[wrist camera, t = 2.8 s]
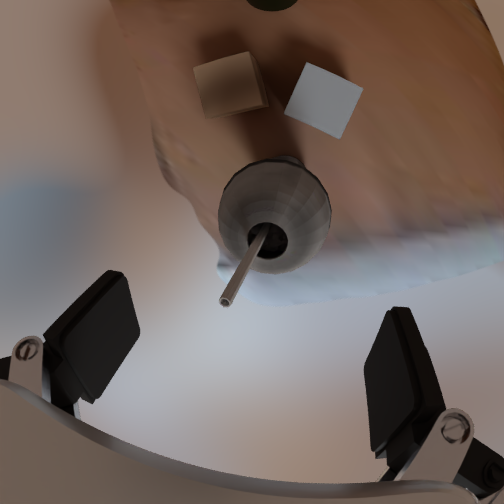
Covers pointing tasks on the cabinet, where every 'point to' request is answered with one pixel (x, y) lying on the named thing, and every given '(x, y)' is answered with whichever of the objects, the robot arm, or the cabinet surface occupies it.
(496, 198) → the cabinet surface
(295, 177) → the beverage cup
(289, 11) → the cabinet surface
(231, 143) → the cabinet surface
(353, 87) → the light grey cube
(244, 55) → the walnut block
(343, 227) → the cabinet surface
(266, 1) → the wine bottle
